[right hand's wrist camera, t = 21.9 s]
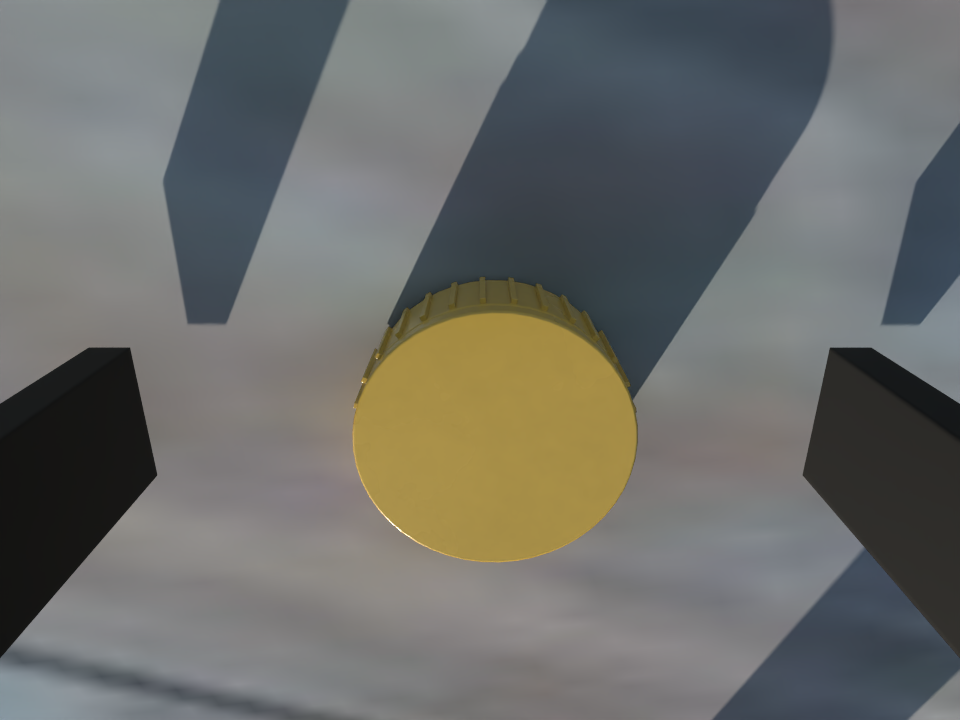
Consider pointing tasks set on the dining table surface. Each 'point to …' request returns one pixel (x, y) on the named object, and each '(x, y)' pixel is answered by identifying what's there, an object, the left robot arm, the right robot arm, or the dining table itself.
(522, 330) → the lid
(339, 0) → the dining table surface
